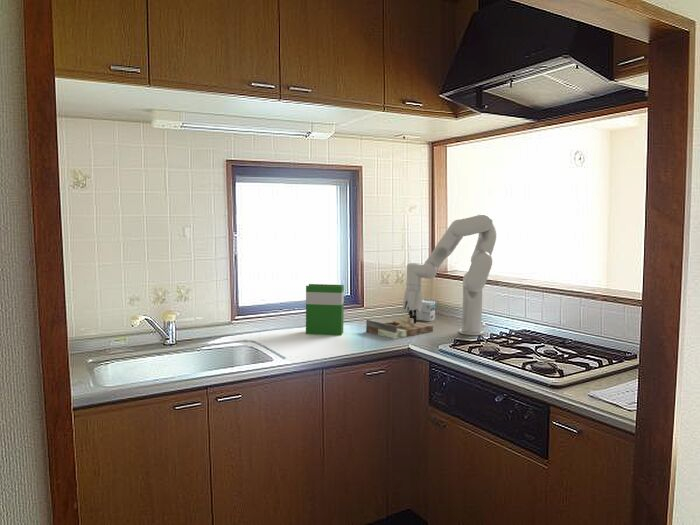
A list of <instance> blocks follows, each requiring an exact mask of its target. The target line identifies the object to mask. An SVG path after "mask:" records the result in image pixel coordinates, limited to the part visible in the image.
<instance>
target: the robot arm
mask: <svg viewBox="0 0 700 525" xmlns="http://www.w3.org/2000/svg"><path fill="white" fill-rule="evenodd" d="M476 234H478V238H477V240H476V245H475V247H474V250H473V252H472V254H471V258H470V262H471V263H470V266H469V269H468V271H466V273H465V274H464V275H463V277H462V310H461V311H462V312H461V317H462V318H461V328H459V329H458V333H459V334H461V335H466V336H482V335H485V330H483V328H486V326H487V325H486V323H482V318H483V317H482V316H483V314H482V313H483V310H482V309H483V289H484V287H485V286H486V283H487V280H488V277H489V274H490V271H491V269H492V267H493V266H492V265H493V257H492V254H493V251H494V247H495V245H496V244H495V243H496V241H497V230H496V226H495V225H494V223H493V218H492V217H491V216H490V215H488V214H486V213H480V214H477V215H473V216H470V217H465V218H461V219H460V218H459V219H455V220H453V221H452V222H451V224H449V227H448V228H447V229H446V231H445V233H444V234H443V235H442V236H441V238H440V240H439V241H438V242H437V243H436V246H435V247H434V249H433V250H432V252H431V253H430V255H429V256H428V258H427V259H426V261H425V262H424V263H423V264H420V263H417V262H416V263H415V262H411V263H408V264H407V265H406V282H405V283H406V286H405V291H404V295H403V304H402V308H403V310H404V312H405V313H406V314H408V316H409V318H413V319H414V324H415V323H416V322H417V320H416V316H417V313H418V312H419V311H421V308H422V300H423V291H422V279H423V278H424V279H427V280H428V279H429V280H430V279H434V278H435V277H436V276H437V275H438V271H439V270H438V269H439V268H440V267H441V265H442V264H443V263H444V261H445V260H446V259H447V258H448V257H449V256H450V255H452V253H453V252H454V250H455V249H456V248H457V246H458V245H459V244H460V242H461V240H462V239H463V237H466V236H467V237H469V236H472V235H476Z"/></svg>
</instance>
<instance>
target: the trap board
mask: <svg viewBox="0 0 700 525" xmlns="http://www.w3.org/2000/svg"><path fill="white" fill-rule="evenodd" d="M365 321H366V322H365V323H366V326H365V328H366V330H365V332H366V333H368V332H369V333H370V334H374V335H377V334H378V336H381V335H382V336H381V337H385V336H386V337H385V338H389V337H391V338H390V339H393V338H395V339H394V340H397V339H396V338H398V339H402V338H401V337H403V338H407V337H411V335H412V336H416V335H415V334H417V335H421V334H420V333H422V334H426V333H425V332H427V333H431V332H433V331H434V325H433V324H427V323H423V322H419V321H416V323H415V324H413V327H407V328H406V327H402V326H399V322H400V319H398V320H394V321H393V320H392V321H387V322H379V321H374V320H370V319H366V320H365ZM430 331H431V332H430ZM406 336H407V337H406Z"/></svg>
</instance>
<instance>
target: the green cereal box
mask: <svg viewBox="0 0 700 525" xmlns="http://www.w3.org/2000/svg"><path fill="white" fill-rule="evenodd" d="M344 287H345V285H344V284H329V283H328V284H324V283H323V284H319V283H308V285H306V286H305V335H320V336H325V335H326V336H342V335H343V334H344V318H345V317H344V314H345V312H344V309H345V308H344V302H345V300H344V295H345V292H344V291H345V290H344V289H345V288H344Z"/></svg>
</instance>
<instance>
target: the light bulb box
mask: <svg viewBox="0 0 700 525" xmlns="http://www.w3.org/2000/svg"><path fill="white" fill-rule="evenodd" d="M435 320H436V301H435V300H434V301H433V300H426V299H425V300H424V299H422V308H421V311H419V312H418V313H417V316H416V321H425V322H432V321H435Z"/></svg>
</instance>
